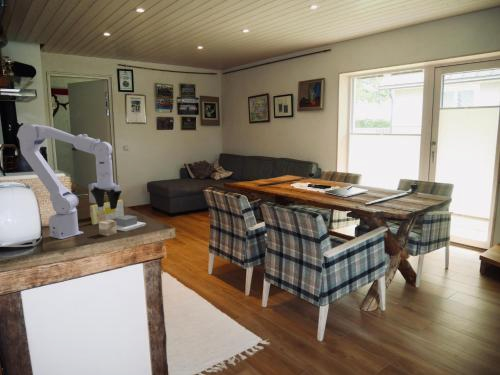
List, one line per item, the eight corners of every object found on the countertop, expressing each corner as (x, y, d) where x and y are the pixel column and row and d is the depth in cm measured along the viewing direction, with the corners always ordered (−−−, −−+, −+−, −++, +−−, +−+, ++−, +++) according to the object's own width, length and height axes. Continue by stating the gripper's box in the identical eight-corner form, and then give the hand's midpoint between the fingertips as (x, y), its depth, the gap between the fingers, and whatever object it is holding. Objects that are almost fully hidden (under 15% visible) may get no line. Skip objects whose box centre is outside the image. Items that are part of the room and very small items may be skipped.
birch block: (107, 236, 138) (106, 223, 137) (99, 234, 140) (98, 221, 139) (116, 233, 142) (115, 221, 141) (109, 231, 144) (108, 219, 143)
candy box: (121, 216, 169) (120, 199, 168) (124, 217, 168) (123, 199, 167) (91, 224, 156) (89, 205, 154) (94, 224, 154) (92, 206, 153)
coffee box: (97, 219, 163) (95, 184, 160) (89, 217, 167) (87, 183, 164) (115, 215, 170) (113, 182, 168) (107, 213, 174) (105, 181, 171)
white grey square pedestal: (125, 231, 144) (124, 221, 143) (107, 227, 149) (107, 218, 149) (146, 225, 153) (145, 216, 152) (128, 221, 159) (128, 213, 158)
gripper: (125, 173, 137) (128, 207, 139) (101, 171, 144) (103, 204, 146) (110, 175, 131) (112, 211, 133) (85, 173, 138) (88, 207, 140)
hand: (107, 207), depth 139 cm, fingers open, 7 cm apart
